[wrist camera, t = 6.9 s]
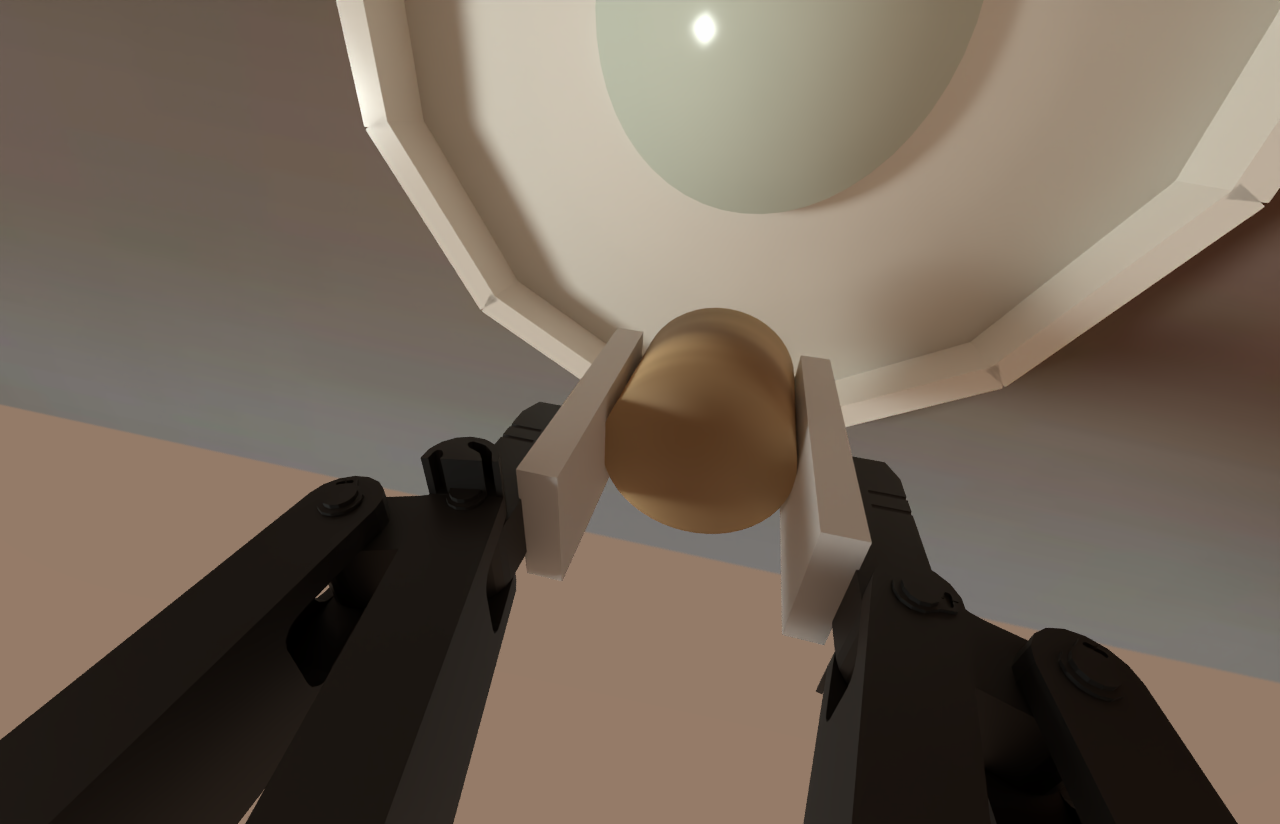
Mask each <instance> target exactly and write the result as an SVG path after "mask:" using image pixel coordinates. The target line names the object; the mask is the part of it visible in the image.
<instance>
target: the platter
mask: <svg viewBox="0 0 1280 824" xmlns="http://www.w3.org/2000/svg"><path fill="white" fill-rule="evenodd" d="M336 2H337V6H338V11H339V15H340V20H341V24H342V29H343V33H344V38H345V42H346V47H347V51H348V56H349V60H350V64H351V69H352V73H353V78H354V82H355V87H356V91H357V96H358V100H359V105H360V109H361V114H362V118H363V123H364V127H368V128H367V129H366V131H367V132H368V134H369V136H370V137H371V139H372V140H373V142H374V143H375V145H376V147H377V148H378V150H379V151H380V153H381V154H382V156H383V158H384V159H385V161H386V162H387V164H388V165H389V167H390V169H391V170H392V172H393V173H394V175H395V176H396V178H397V180H398V181H399V183H400V184H401V186H402V187H403V189H404V191H405V192H406V194H407V195H408V197H409V198H410V200H411V202H412V203H413V205H414V206H415V208H416V209H417V211H418V213H419V214H420V216H421V217H422V219H423V220H424V222H425V224H426V225H427V227H428V228H429V230H430V231H431V233H432V234H433V236H434V238H435V239H436V241H437V242H438V244H439V245H440V247H441V249H442V250H443V252H444V253H445V255H446V256H447V258H448V260H449V261H450V263H451V264H452V266H453V267H454V269H455V271H456V272H457V274H458V275H459V277H460V278H461V280H462V282H463V283H464V285H465V286H466V288H467V289H468V291H469V293H470V294H471V296H472V297H473V299H474V300H475V302H476V304H477V305H478V307H479V308H480V310H481V309H483V310H482V312H484V313H485V314H487V315H488V316H489V317H491V318H492V319H494V320H495V321H497V322H498V323H500V324H501V325H503V326H504V327H505V328H507V329H508V330H510V331H511V332H513V333H514V334H516V335H517V336H518V337H520V338H521V339H523V340H524V341H526V342H527V343H529V344H530V345H531V346H533V347H534V348H536V349H537V350H539V351H540V352H542V353H543V354H544V355H546V356H547V357H549V358H550V359H552V360H553V361H555V362H556V363H557V364H559V365H560V366H562V367H563V368H565V369H566V370H568V371H569V372H571V373H572V374H573V375H575V376H576V377H578V378H579V379H581V378H582V377H583V376H584V374H585V373H586V371H587V370H588V369H589V367H590V366H591V364H592V363H593V362H594V360H595V359H596V358H597V356H598V355H599V353H600V352H601V351H602V349H603V348H604V346H605V345H606V344H607V342H608V341H609V339H610V338H611V337H612V335H613V334H614V333H615V331H616V330H617V328H621V329H628V330H634V331H641V332H643V347H642V357H643V355H644V354H645V352H646V350H647V348H648V347H649V345H650V343H651V342H652V340H653V339H654V337H655V335H656V334H657V333H658V332H659V331H660V330H661V329H662V328H663V327H664V326H665V325H666V324H668V323H669V322H670V321H672V320H673V319H675V318H676V317H679V316H681V315H683V314H685V313H688V312H691V311H694V310H699V309H704V308H727V309H732V310H737V311H740V312H743V313H746V314H749V315H751V316H753V317H755V318H757V319H759V320H760V321H762V322H763V323H765V324H766V325H767V326H769V327H770V328H771V329H772V330H773V331H774V332H775V333H776V334H777V335H778V336H779V337H780V339H781V340H782V341H783V343H784V344H785V346H786V348H787V350H788V352H789V354H790V356H791V359H792V363H793V367H794V377H795V375H796V371H797V368H798V364H799V360H800V356H801V355H803V356H809V357H816V358H823V359H830V362H831V366H832V371H833V375H834V379H835V384H836V388H837V392H838V397H839V401H840V406H841V410H842V414H843V419H844V423H845V427H848V426H852V425H856V424H860V423H864V422H868V421H872V420H876V419H880V418H884V417H888V416H893V415H897V414H901V413H905V412H909V411H913V410H917V409H921V408H925V407H929V406H933V405H937V404H941V403H945V402H949V401H954V400H958V399H962V398H966V397H970V396H974V395H978V394H982V393H986V392H990V391H994V390H998V389H1002V385H1004V386H1005V387H1006V386H1008V385H1009V384H1011V383H1012V382H1014V381H1015V380H1016V379H1018V378H1019V377H1021V376H1022V375H1024V374H1025V373H1026V372H1028V371H1029V370H1031V369H1032V368H1034V367H1035V366H1037V365H1038V364H1039V363H1041V362H1042V361H1044V360H1045V359H1047V358H1048V357H1049V356H1051V355H1052V354H1054V353H1055V352H1057V351H1058V350H1060V349H1061V348H1062V347H1064V346H1065V345H1067V344H1068V343H1070V342H1071V341H1072V340H1074V339H1075V338H1077V337H1078V336H1080V335H1081V334H1083V333H1084V332H1085V331H1087V330H1088V329H1090V328H1091V327H1093V326H1094V325H1095V324H1097V323H1098V322H1100V321H1101V320H1103V319H1104V318H1106V317H1107V316H1108V315H1110V314H1111V313H1113V312H1114V311H1116V310H1117V309H1118V308H1120V307H1121V306H1123V305H1124V304H1126V303H1127V302H1129V301H1130V300H1131V299H1133V298H1134V297H1136V296H1137V295H1139V294H1140V293H1141V292H1143V291H1144V290H1146V289H1147V288H1149V287H1150V286H1151V285H1153V284H1154V283H1156V282H1157V281H1159V280H1160V279H1162V278H1163V277H1164V276H1166V275H1167V274H1169V273H1170V272H1172V271H1173V270H1174V269H1176V268H1177V267H1179V266H1180V265H1182V264H1183V263H1185V262H1186V261H1187V260H1189V259H1190V258H1192V257H1193V256H1195V255H1196V254H1197V253H1199V252H1200V251H1202V250H1203V249H1205V248H1206V247H1208V246H1209V245H1210V244H1212V243H1213V242H1215V241H1216V240H1218V239H1219V238H1220V237H1222V236H1223V235H1225V234H1226V233H1228V232H1229V231H1231V230H1232V229H1233V228H1235V227H1236V226H1238V225H1239V224H1241V223H1242V222H1243V221H1245V220H1246V219H1248V218H1249V217H1251V216H1252V215H1253V214H1255V213H1256V212H1258V211H1259V210H1261V209H1262V208H1264V207H1265V206H1264V205H1263V204H1262V203H1261V202H1264V203H1269V202H1270V201H1271V199H1272V198H1273V196H1274V195H1275V194H1276V192H1277V191H1278V189H1279V188H1280V0H336Z"/></svg>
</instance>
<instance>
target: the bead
mask: <svg viewBox="0 0 1280 824" xmlns="http://www.w3.org/2000/svg"><path fill="white" fill-rule="evenodd" d="M605 467H606V469H607V472H608V474H609V476H610V478H611V480H612V482H613V483H614V485H615V486H616V488H617V489H618V490H619V492H620V493H621V494H622V495H623V496H624V497H625V498H626V499H627V500H628V501H629V502H630V503H631V504H632V505H633V506H634V507H636V508H637V509H638V510H640V511H641V512H642V513H644V514H646V515H647V516H649V517H650V518H652V519H654V520H656V521H658V522H660V523H662V524H665V525H668V526H670V527H673V528H676V529H680V530H684V531H689V532H694V533H704V534H720V533H729V532H734V531H739V530H743V529H746V528H749V527H752V526H754V525H756V524H758V523H760V522H762V521H763V520H765V519H767V518H768V517H770V516H771V515H772V514H773V513H775V512H776V511H777V510H778V509H779V508H780V507H781V506H782V504H783V503H784V502H785V501H786V499H787V498H788V496H789V494H790V493H791V490H792V488H793V485H794V482H795V478H796V474H797V439H796V408H795V377H794V367H793V363H792V359H791V356H790V354H789V352H788V350H787V348H786V346H785V344H784V343H783V341H782V340H781V339H780V337H779V336H778V335H777V334H776V333H775V332H774V331H773V330H772V329H771V328H770V327H769V326H767V325H766V324H765V323H763V322H762V321H760V320H759V319H757V318H755V317H753V316H751V315H749V314H746V313H743V312H740V311H737V310H732V309H727V308H704V309H699V310H694V311H691V312H688V313H685V314H683V315H681V316H679V317H676V318H675V319H673V320H672V321H670V322H669V323H668V324H666V325H665V326H664V327H663V328H662V329H661V330H660V331H659V332H658V333H657V334H656V335H655V337H654V339H653V340H652V342H651V343H650V345H649V347H648V348H647V350H646V352H645V354H644V355H643V357H642V359H641V360H640V362H639V364H638V366H637V367H636V369H635V371H634V372H633V374H632V376H631V378H630V379H629V381H628V383H627V385H626V386H625V388H624V390H623V391H622V393H621V395H620V397H619V398H618V400H617V402H616V404H615V405H614V407H613V409H612V410H611V412H610V414H609V416H608V418H607V420H606V423H605Z"/></svg>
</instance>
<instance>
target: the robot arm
mask: <svg viewBox="0 0 1280 824" xmlns="http://www.w3.org/2000/svg"><path fill="white" fill-rule="evenodd" d="M642 347H643V332H641V331H634V330H628V329H621V328H617V330H616V331H615V333H614V334H613V335H612V337H611V338H610V339H609V341H608V342H607V344H606V345H605V346H604V348H603V349H602V351H601V352H600V353H599V355H598V356H597V358H596V359H595V360H594V362H593V363H592V364H591V366H590V367H589V369H588V370H587V371H586V373H585V374H584V376H583V377H582V378H581V380H580V381H579V382H578V384H577V385H576V387H575V388H574V389H573V391H572V392H571V394H570V395H569V396H568V398H567V399H566V401H565V402H564V403H563V405H562V406H560V405H554V404H548V403H543V402H538V403H537V404H535V405H533V406H531V407H529V408H528V409H526V410H524V411H522V412H521V414H520V415H519V416H518V417H517V418H516V420H515V421H514V422H513V423H512V426H511V427H509V428H508V429H507V430H506V432H505V433H504V434H503V437H500V439H499V440H498V441H497V442H496V443H495V445H494V444H493V443H491V442H489V441H487V440H485V439H481V438H475V437H461V438H454V439H451V440H447V441H443V442H441V443H439V444H437V445H435V446H433V447H432V448H430V449H429V450H428V451H427V452H426V453H425V454H424V455H423V456H422V457H421V461H422V465H423V469H424V473H425V477H426V481H427V485H428V489H429V493H430V494H429V495H423V496H404V497H386V495H385V492H384V489H383V488H382V486H381V484H380V483H379V482H378V481H376V480H374V479H372V478H370V477H361V476H352V477H346V478H339V479H337V480H334V481H331V482H329V483H326V484H323V485H322V486H320V487H319V488H317V489H315V490H314V491H312V492H310V493H309V494H308V495H307V496H305V497H304V498H303V499H302V500H300V501H299V502H298V503H297V504H295V505H294V506H293V507H292V508H290V509H289V510H288V511H287V512H285V513H284V514H283V515H281V516H280V517H279V518H278V519H277V520H275V521H274V522H273V523H272V524H270V525H269V526H268V527H266V528H265V529H264V530H263V531H261V532H260V533H259V534H258V535H256V536H255V537H254V538H253V539H251V540H250V541H249V542H248V543H246V544H245V545H244V546H243V547H241V548H240V549H239V550H238V551H236V552H235V553H234V554H233V555H232V556H230V557H229V558H228V559H226V560H225V561H224V562H223V563H221V564H220V565H219V566H218V567H217V568H215V569H214V570H213V571H211V572H210V573H209V574H208V575H206V576H205V577H204V578H203V579H202V580H200V581H199V582H198V583H196V584H195V585H194V586H193V587H191V588H190V589H189V590H188V591H186V592H185V593H184V594H183V595H181V596H180V597H179V598H178V599H176V600H175V601H174V602H173V603H172V604H170V605H169V606H167V607H166V608H165V609H164V610H163V611H161V612H160V613H159V614H158V615H156V616H155V617H154V618H153V619H151V620H150V621H149V622H147V623H146V624H145V625H144V626H142V627H141V628H140V629H139V630H137V631H136V632H135V633H134V634H132V635H131V636H130V637H129V638H127V639H126V640H125V641H124V642H123V643H121V644H120V645H119V646H117V647H116V648H115V649H114V650H112V651H111V652H110V653H109V654H107V655H106V656H105V657H104V658H102V659H101V660H100V661H99V662H97V663H96V664H95V665H94V666H92V667H91V668H90V669H89V670H87V671H86V672H85V673H84V674H82V675H81V676H80V677H79V678H77V679H76V680H75V681H74V682H72V683H71V684H70V685H69V686H67V687H66V688H65V689H64V690H62V691H61V692H60V693H59V694H57V695H56V696H55V697H54V698H52V699H51V700H50V701H49V702H47V703H46V704H45V705H44V706H42V707H41V708H40V709H39V710H37V711H36V712H35V713H34V714H32V715H31V716H30V717H28V718H27V719H26V720H25V721H23V722H22V723H21V724H20V725H18V726H17V727H16V728H15V729H14V730H12V731H11V732H10V733H8V734H7V735H6V736H5V737H3V738H2V739H1V740H0V824H238V823H239V821H240V820H241V819H242V818H243V816H244V815H245V814H246V812H247V811H248V810H249V808H250V807H251V806H252V805H253V803H254V802H255V801H256V799H257V798H258V797H259V796H260V794H261V793H262V792H263V793H262V795H261V797H260V798H259V800H258V802H257V804H256V806H255V808H254V809H253V811H252V813H251V815H250V816H249V818H248V820H247V822H246V824H453V822H454V818H455V814H456V811H457V807H458V803H459V800H460V796H461V792H462V789H463V785H464V781H465V777H466V774H467V770H468V766H469V763H470V759H471V755H472V751H473V748H474V744H475V740H476V737H477V733H478V729H479V726H480V722H481V718H482V714H483V711H484V707H485V703H486V699H487V696H488V692H489V688H490V684H491V681H492V677H493V673H494V670H495V666H496V662H497V659H498V655H499V651H500V648H501V644H502V640H503V637H504V633H505V629H506V625H507V622H508V618H509V614H510V611H511V607H512V603H513V599H514V596H515V592H516V575H515V572H516V570H517V569H518V567H519V565H520V563H521V562H522V560H523V558H524V556H525V557H526V567H527V573H530V574H535V575H539V576H543V577H547V578H551V579H555V580H559V581H563V578H564V576H565V573H566V571H567V569H568V567H569V565H570V563H571V560H572V558H573V556H574V554H575V552H576V549H577V547H578V545H579V543H580V540H581V538H582V536H583V534H584V532H585V529H586V527H587V525H588V523H589V521H590V518H591V516H592V514H593V512H594V509H595V507H596V505H597V503H598V501H599V498H600V496H601V494H602V492H603V489H604V487H605V485H606V483H607V480H608V478H609V474H608V472H607V469H606V467H605V423H606V420H607V418H608V416H609V414H610V412H611V410H612V409H613V407H614V405H615V404H616V402H617V400H618V398H619V397H620V395H621V393H622V391H623V390H624V388H625V386H626V385H627V383H628V381H629V379H630V378H631V376H632V374H633V372H634V371H635V369H636V367H637V366H638V364H639V362H640V360H641V359H642ZM795 408H796V439H797V474H796V478H795V482H794V485H793V488H792V490H791V493H790V494H789V496H788V498H787V499H786V501H785V502H784V503H783V504H782V506H781V507H780V533H781V591H782V592H781V593H782V635H785V636H790V637H794V638H798V639H802V640H806V641H810V642H814V643H818V644H822V645H824V644H825V642H826V640H827V638H828V636H829V634H830V631H831V629H832V628H833V637H834V646H835V652H834V654H833V657H832V659H831V661H830V662H829V664H828V666H827V669H826V671H825V673H824V675H823V677H822V679H821V681H820V683H819V685H818V688H817V690H816V692H818V693H821V694H822V693H823V699H822V706H821V712H820V719H819V726H818V732H817V738H816V745H815V751H814V758H813V765H812V772H811V778H810V785H809V791H808V797H807V804H806V811H805V817H804V824H1238V823H1237V822H1236V821H1235V819H1234V817H1233V816H1232V814H1231V813H1230V811H1229V810H1228V808H1227V807H1226V806H1225V804H1224V803H1223V801H1222V800H1221V798H1220V797H1219V795H1218V794H1217V792H1216V791H1215V789H1214V788H1213V786H1212V785H1211V783H1210V782H1209V780H1208V779H1207V777H1206V776H1205V774H1204V773H1203V771H1202V770H1201V768H1200V767H1199V765H1198V764H1197V762H1196V761H1195V759H1194V758H1193V756H1192V755H1191V753H1190V752H1189V750H1188V749H1187V747H1186V746H1185V744H1184V743H1183V741H1182V740H1181V738H1180V737H1179V735H1178V734H1177V732H1176V731H1175V730H1174V728H1173V726H1172V725H1171V723H1170V722H1169V720H1168V719H1167V717H1166V716H1165V714H1164V713H1163V711H1162V710H1161V708H1160V707H1159V705H1158V704H1157V702H1156V701H1155V699H1154V698H1153V696H1152V695H1151V694H1150V692H1149V690H1148V689H1147V687H1146V686H1145V685H1144V683H1143V682H1142V681H1141V680H1140V679H1139V677H1138V676H1137V675H1136V674H1135V673H1134V672H1133V670H1132V669H1130V667H1129V666H1128V665H1127V664H1125V663H1124V662H1123V661H1122V660H1121V659H1119V658H1118V657H1117V656H1116V655H1115V654H1113V653H1112V652H1111V651H1110V650H1108V649H1107V648H1105V647H1103V646H1102V645H1100V644H1098V643H1096V642H1095V641H1093V640H1091V639H1089V638H1087V637H1086V636H1083V635H1080V634H1077V633H1075V632H1072V631H1069V630H1066V629H1058V628H1045V629H1043V630H1041V631H1039V632H1036V633H1034V635H1033V636H1032V637H1031V638H1030V639H1029V640H1028V641H1027V640H1026V639H1023V638H1021V637H1019V636H1017V635H1014V634H1012V633H1010V632H1008V631H1006V630H1004V629H1002V628H999V627H997V626H995V625H993V624H991V623H989V622H987V621H984V620H983V619H981V618H979V617H977V616H975V615H973V614H972V613H970V612H968V611H967V610H966V609H965V607H964V604H963V601H962V598H961V597H960V596H959V595H958V593H957V592H956V591H955V590H954V588H953V587H952V586H951V585H950V584H949V583H948V582H947V581H946V580H944V579H943V578H942V577H940V576H939V575H938V574H936V573H935V572H933V571H932V570H931V567H930V564H929V561H928V559H927V556H926V553H925V550H924V547H923V544H922V541H921V538H920V535H919V532H918V530H917V527H916V524H915V521H914V518H913V516H912V515H911V509H910V506H909V504H908V501H907V500H906V495H905V492H904V489H903V486H902V483H901V480H900V479H899V478H898V476H897V475H896V474H895V473H894V472H893V471H892V470H891V469H890V468H889V466H888V465H887V464H886V463H885V462H880V461H874V460H869V459H863V458H857V457H852V454H851V449H850V445H849V441H848V436H847V432H846V428H845V423H844V419H843V414H842V410H841V406H840V401H839V397H838V392H837V388H836V384H835V379H834V375H833V371H832V366H831V362H830V359H823V358H816V357H809V356H803V355H801V356H800V360H799V364H798V368H797V371H796V375H795ZM327 585H329V588H328V589H327V590H326V592H324V593H323V594H322V595H320V596H319V597H318V598H315V597H316V596H317V595H318V594H319V593H320V592H321V591H322V590H323V589H324V588H325V587H326V586H327ZM264 789H265V790H264ZM263 790H264V791H263Z"/></svg>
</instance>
